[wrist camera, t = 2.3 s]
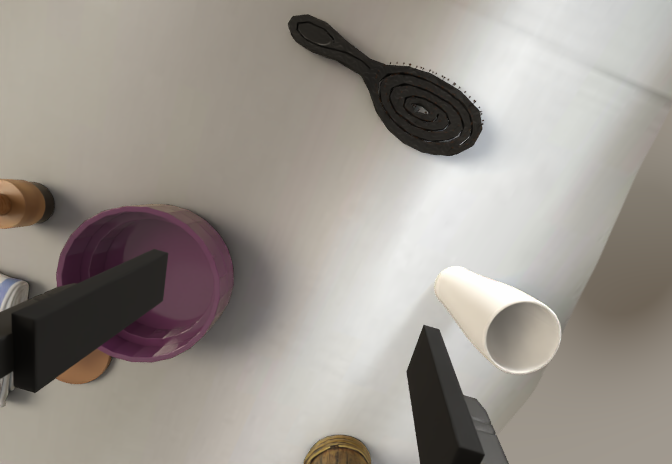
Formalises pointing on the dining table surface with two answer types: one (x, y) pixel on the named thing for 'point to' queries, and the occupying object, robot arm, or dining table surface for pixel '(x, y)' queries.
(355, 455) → the wooden mug
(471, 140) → the hairbrush
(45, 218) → the dish brush
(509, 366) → the white tumbler
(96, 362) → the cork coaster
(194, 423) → the dining table surface
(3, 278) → the dish towel
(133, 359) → the bowl
